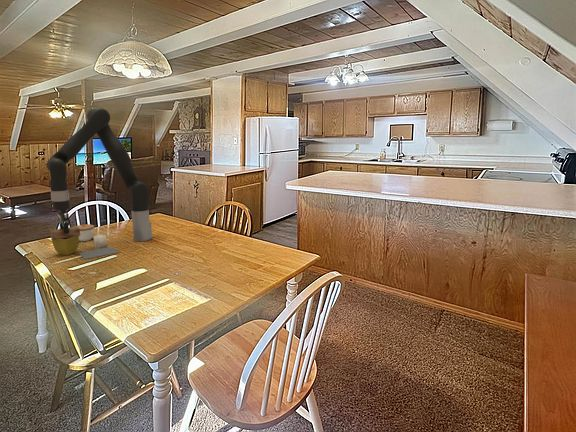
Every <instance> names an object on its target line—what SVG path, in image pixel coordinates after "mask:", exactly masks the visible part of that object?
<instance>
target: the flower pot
mask: <svg viewBox="0 0 576 432" xmlns="http://www.w3.org/2000/svg"><path fill="white" fill-rule="evenodd" d="M50 239H51V242H52V243H51V244H52V245H53V248H54V250H55V251H56V252H57V253H58V254H59V255H61V256H70V255H71V254H74V253H75V252H76V251H77V250H78V248H79V244H80V243H79V242H80V241H79V236H75V237H68V238H62V239H55V240H53V239H52V238H51V237H50Z"/></svg>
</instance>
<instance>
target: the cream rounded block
mask: <svg viewBox="0 0 576 432" xmlns="http://www.w3.org/2000/svg"><path fill="white" fill-rule="evenodd" d="M92 238H93V245H94V248H95V249H101V248H107V247H108V242H107V234H94V236H93V237H92Z"/></svg>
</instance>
